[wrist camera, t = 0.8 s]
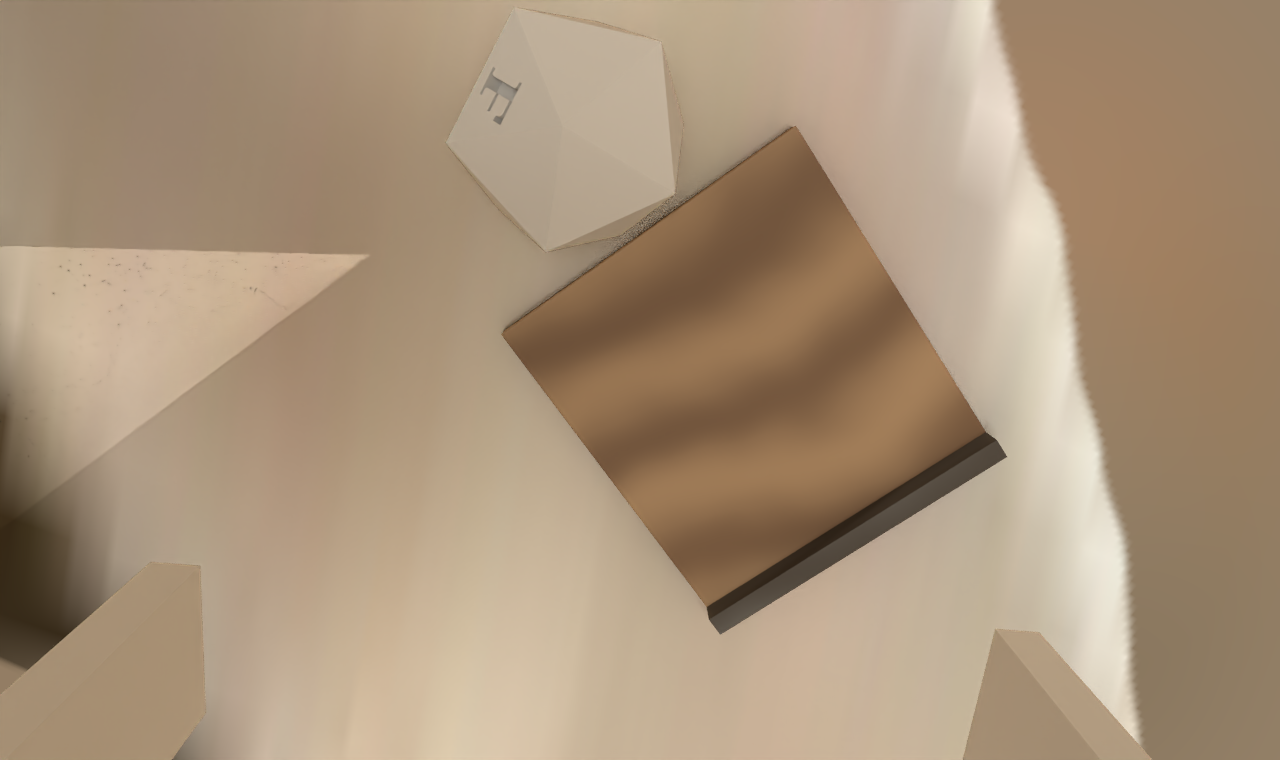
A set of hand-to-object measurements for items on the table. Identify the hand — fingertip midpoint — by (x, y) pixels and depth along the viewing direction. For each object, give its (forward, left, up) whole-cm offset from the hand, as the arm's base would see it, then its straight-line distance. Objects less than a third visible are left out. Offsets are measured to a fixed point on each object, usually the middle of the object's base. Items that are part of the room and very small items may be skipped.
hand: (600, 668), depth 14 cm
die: (-9, +4, -26) cm, 28 cm away
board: (+5, +4, -26) cm, 27 cm away
